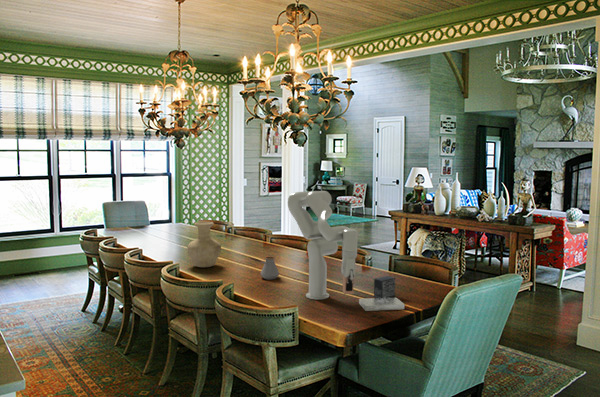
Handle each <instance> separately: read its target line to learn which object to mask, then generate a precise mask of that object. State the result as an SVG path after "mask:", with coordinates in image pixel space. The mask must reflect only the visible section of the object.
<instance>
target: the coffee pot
mask: <svg viewBox="0 0 600 397" xmlns="http://www.w3.org/2000/svg"><path fill="white" fill-rule="evenodd" d="M264 259H265V261H262V260H260V259H257V258H254V257H249V258H248V261H250V260H251V261H255V262H258V263H262V264H263V267H262V268H261V271H260V277H262V278H263V279H264V280H268V281H269V280H272V281H273V280H276V279H277V278H278V277H279V275H280V272H279V269H278V267H277V265H276V263H275V259H276V257H274V256H265V257H264Z"/></svg>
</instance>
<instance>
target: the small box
mask: <svg viewBox="0 0 600 397" xmlns="http://www.w3.org/2000/svg"><path fill="white" fill-rule="evenodd" d="M373 283H374V284H373V298H393V297H396V277H393V276H389V275H385V276H380V277H377V278H374V279H373Z"/></svg>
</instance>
